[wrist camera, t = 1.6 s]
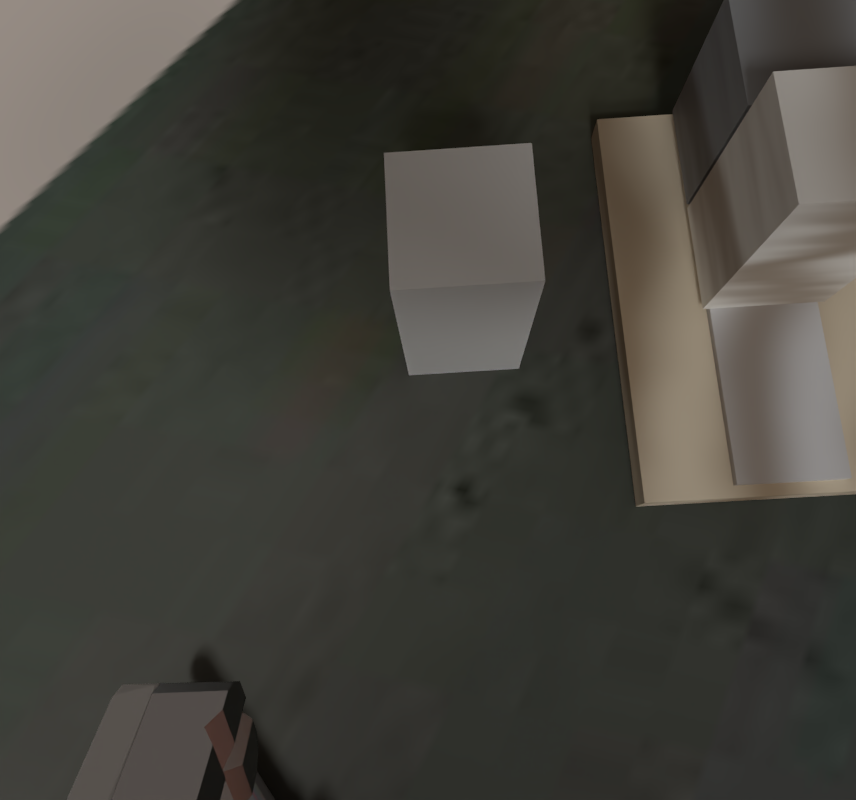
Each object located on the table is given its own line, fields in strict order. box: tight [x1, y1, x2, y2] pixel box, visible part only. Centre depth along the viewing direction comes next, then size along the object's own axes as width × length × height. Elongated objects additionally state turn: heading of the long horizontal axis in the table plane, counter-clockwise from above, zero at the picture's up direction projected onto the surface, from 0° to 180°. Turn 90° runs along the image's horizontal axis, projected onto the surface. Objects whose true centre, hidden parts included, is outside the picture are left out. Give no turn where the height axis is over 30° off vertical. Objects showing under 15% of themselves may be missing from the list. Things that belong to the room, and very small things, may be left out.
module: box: [384, 143, 545, 375], centre depth 29 cm, size 5×5×10 cm
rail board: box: [591, 0, 856, 506], centre depth 28 cm, size 12×18×11 cm, turn 3°
